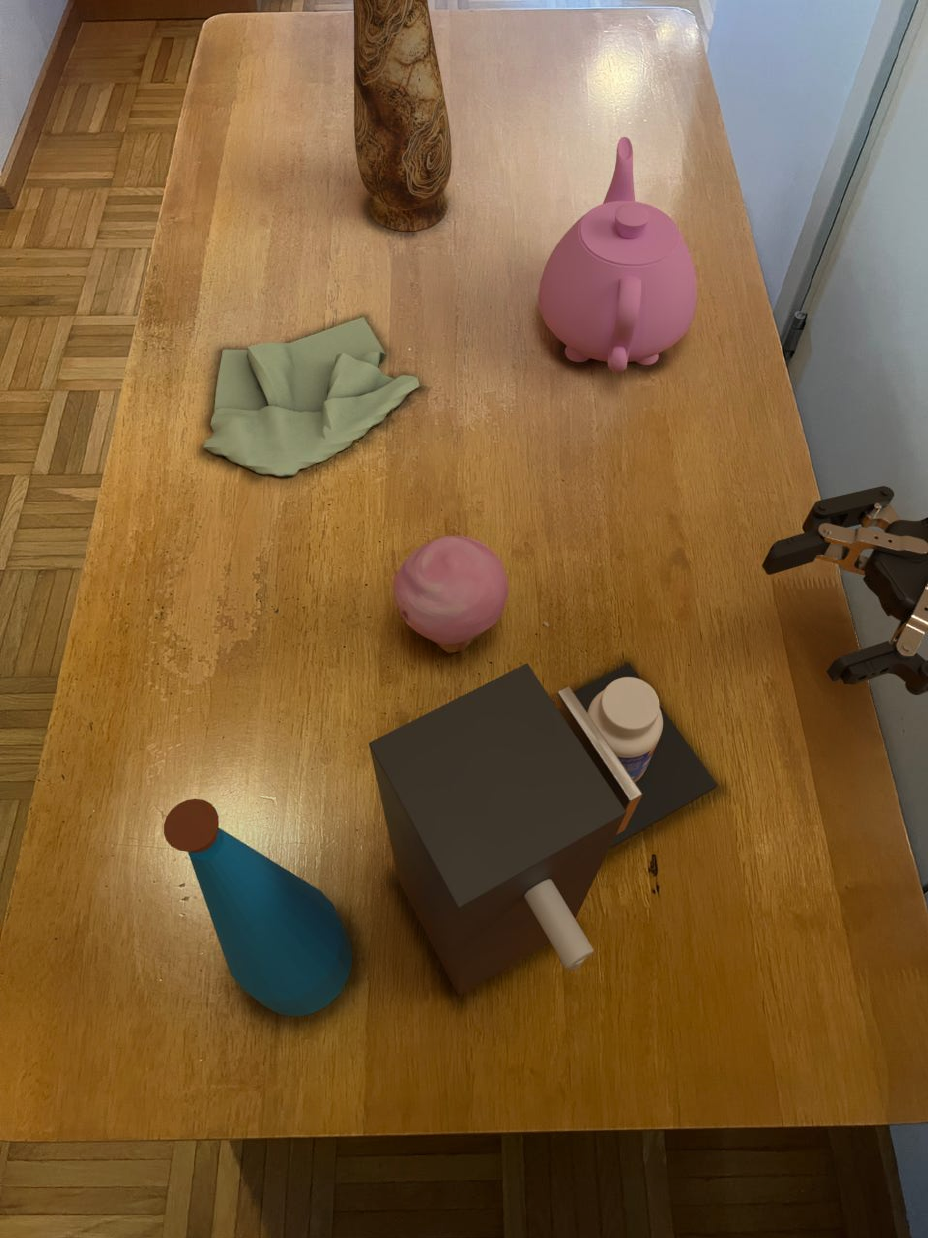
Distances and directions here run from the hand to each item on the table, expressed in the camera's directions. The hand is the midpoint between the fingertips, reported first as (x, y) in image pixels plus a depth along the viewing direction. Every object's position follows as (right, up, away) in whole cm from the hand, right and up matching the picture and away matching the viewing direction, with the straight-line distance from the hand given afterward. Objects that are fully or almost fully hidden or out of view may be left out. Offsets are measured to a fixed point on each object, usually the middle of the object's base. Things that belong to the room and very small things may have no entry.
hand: (799, 615), depth 60 cm
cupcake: (-23, -1, +18) cm, 29 cm away
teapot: (-6, +30, +37) cm, 48 cm away
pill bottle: (-10, -11, +12) cm, 19 cm away
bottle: (-33, -24, +5) cm, 41 cm away
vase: (-28, +47, +46) cm, 71 cm away
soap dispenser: (-19, -22, +6) cm, 30 cm away
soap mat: (-11, -11, +12) cm, 20 cm away
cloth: (-36, +22, +31) cm, 53 cm away
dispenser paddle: (-15, -10, -7) cm, 19 cm away
